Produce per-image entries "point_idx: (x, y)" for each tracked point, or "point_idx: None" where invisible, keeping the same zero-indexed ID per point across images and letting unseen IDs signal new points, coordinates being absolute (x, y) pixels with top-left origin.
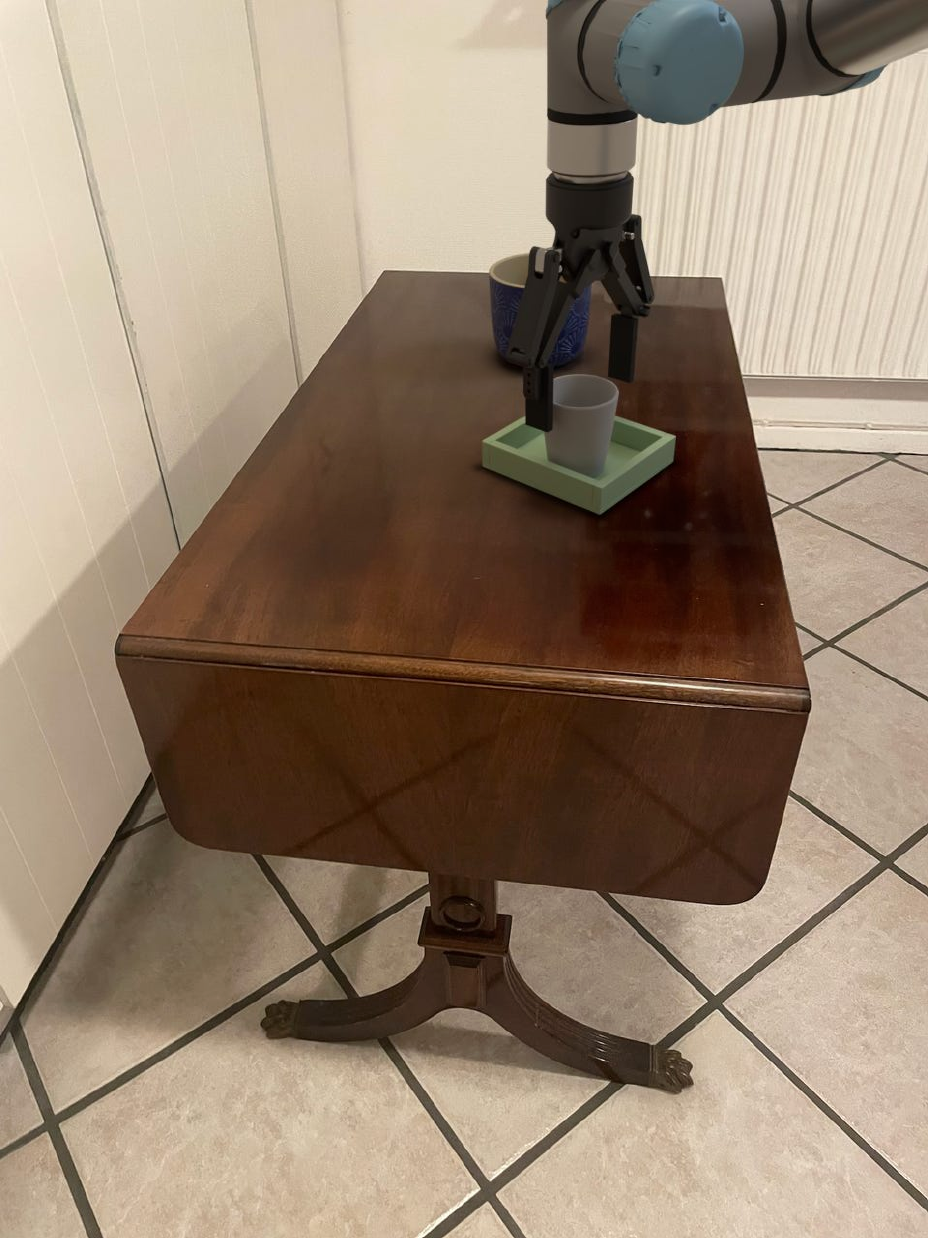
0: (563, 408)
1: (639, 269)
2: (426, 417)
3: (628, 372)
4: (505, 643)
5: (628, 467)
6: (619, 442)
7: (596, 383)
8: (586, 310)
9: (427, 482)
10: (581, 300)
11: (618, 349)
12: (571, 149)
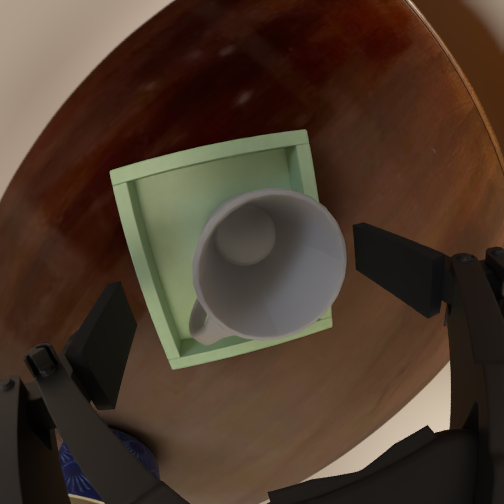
0: (342, 235)
1: (20, 467)
2: (287, 415)
3: (117, 293)
4: (450, 82)
5: (237, 142)
6: (151, 249)
7: (206, 290)
8: (63, 461)
9: (373, 313)
10: (69, 474)
11: (118, 339)
12: None
